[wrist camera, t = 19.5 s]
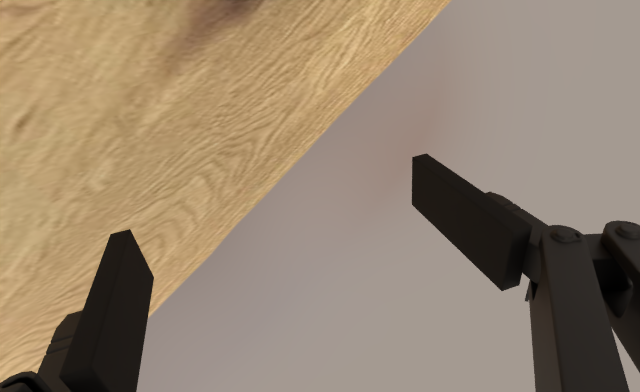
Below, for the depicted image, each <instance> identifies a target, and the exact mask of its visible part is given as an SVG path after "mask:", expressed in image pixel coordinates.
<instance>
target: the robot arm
mask: <svg viewBox="0 0 640 392" xmlns="http://www.w3.org/2000/svg"><path fill="white" fill-rule="evenodd" d="M412 162H413V163H412V205H413V206H414V207H415V208H416V209H417V210H418V211H419V212H420V213H421V214H422V215H423V216H425V218H426V219H428V220H429V221H430V222H431V223H432V224H433V225H434V226H435V227H436V228H437V229H438V230H439V231H440V232H441V233H442V234H443V235H444V236H445V237H446V238H447V239H448V240H449V241H450V242H452V244H453V245H455V246H456V247H457V248H458V249H459V250H460V251H461V252H462V253H463V254H464V255H465V256H466V257H467V258H468V259H469V260H470V261H471V262H472V263H473V264H474V265H475V266H476V267H477V268H478V269H479V270H480V271H482V272H483V273H484V274H485V275H486V276H487V277H488V278H489V279H490V280H491V281H492V282H493V283H494V284H495V285H496V286H497V287H498V288H499V289H500V290H501V291H504V290H506V289H509V288H512V287H515V286H518V285H519V284H520V279H521V275H522V273H523V274H525V275H526V276H527V277H528V278H529V279H530V282H529V286H528V290H527V294H526V298H525V301H528V300H529V303H530V317H531V330H532V345H533V360H534V374H535V388H536V392H629V388H628V385H627V381H626V378H625V374H624V371H623V367H622V364H621V360H620V357H619V353H618V349H617V346H616V343H615V339H614V336H613V332H612V329H613V330H614V332H615V333H616V335H617V337H618V338H619V340H620V341H621V343H622V345H623V346H624V348H625V350H626V351H627V353H628V354H629V356H630V357H631V359H632V361H633V362H634V364H635V366H636V367H637V369H638V371H639V372H640V225H638V224H635V223H631V222H627V221H611V222H609V223H607V224H606V225H605V228H604V230H603V233H602V234H586V235H583V234H581V233H580V232H579V231H577V230H575V229H573V228H570V227H567V226H561V225H552V226H548V225H546V224H545V223H543V222H542V221H540V220H539V219H537V218H536V217H534V216H533V215H531V214H530V213H528V212H527V211H525V210H523V209H521V208H520V207H519V206H517V205H516V204H513V203H512V202H511V201H510V200H508V199H506V198H505V197H503V196H501V195H498V194H495V193H492V192H488V193H484V192H482V191H481V190H479V189H478V188H476V187H475V186H473V185H472V184H470V183H469V182H468V181H466V180H465V179H463V178H462V177H460V176H459V175H457V174H456V173H454V172H453V171H451V170H450V169H448V168H447V167H445V166H444V165H442V164H441V163H439V162H438V161H436V160H435V159H434V158H432V157H431V156H429V155H428V154H423V155H419V156H415V157H413V159H412ZM153 280H154V277H153V275H152V273H151V270H150V268H149V266H148V264H147V262H146V260H145V258H144V256H143V254H142V252H141V250H140V248H139V246H138V244H137V242H136V240H135V238H134V236H133V234H132V232H131V230H130V229H129V230H125V231H121V232H117V233H113V234H111V235H110V237H109V240H108V243H107V246H106V248H105V251H104V254H103V257H102V259H101V262H100V265H99V268H98V270H97V273H96V276H95V278H94V281H93V284H92V287H91V289H90V292H89V295H88V298H87V300H86V303H85V306H84V308H83V310H82V311H79V312H75V313H72V314H68V315H67V316H66V317H65V319H64V320H63V321H62V322H61V323H60V325H59V326H58V327H57V328H56V330H55V333H54V335H53V337H52V340H51V344H49V347H48V349H47V351H46V355H45V356H44V358H43V361H42V363H41V365H40V368H39V370H38V373H37V374H36V373H34V372H32V371H29V372H21V373H19V374H16V375H13V376H11V377H9V378H8V379H6V380H4V381H3V382H1V383H0V392H136V390H137V383H138V377H139V369H140V364H141V356H142V351H143V344H144V338H145V331H146V325H147V319H148V312H149V306H150V299H151V293H152V287H153ZM611 327H612V328H611Z"/></svg>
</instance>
